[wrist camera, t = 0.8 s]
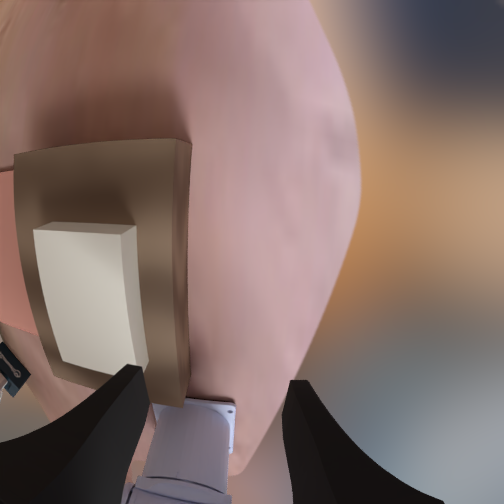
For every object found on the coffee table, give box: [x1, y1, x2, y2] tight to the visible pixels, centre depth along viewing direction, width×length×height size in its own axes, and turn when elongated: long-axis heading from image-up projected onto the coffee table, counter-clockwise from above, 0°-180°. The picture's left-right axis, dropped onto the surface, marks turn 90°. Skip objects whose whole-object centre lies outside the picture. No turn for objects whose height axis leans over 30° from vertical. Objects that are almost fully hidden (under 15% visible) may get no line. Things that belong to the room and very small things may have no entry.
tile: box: [33, 222, 149, 375], centre depth 14 cm, size 9×6×2 cm, turn 175°
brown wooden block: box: [13, 138, 192, 408], centre depth 17 cm, size 18×12×4 cm, turn 175°
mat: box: [0, 170, 39, 336], centre depth 18 cm, size 16×11×1 cm
